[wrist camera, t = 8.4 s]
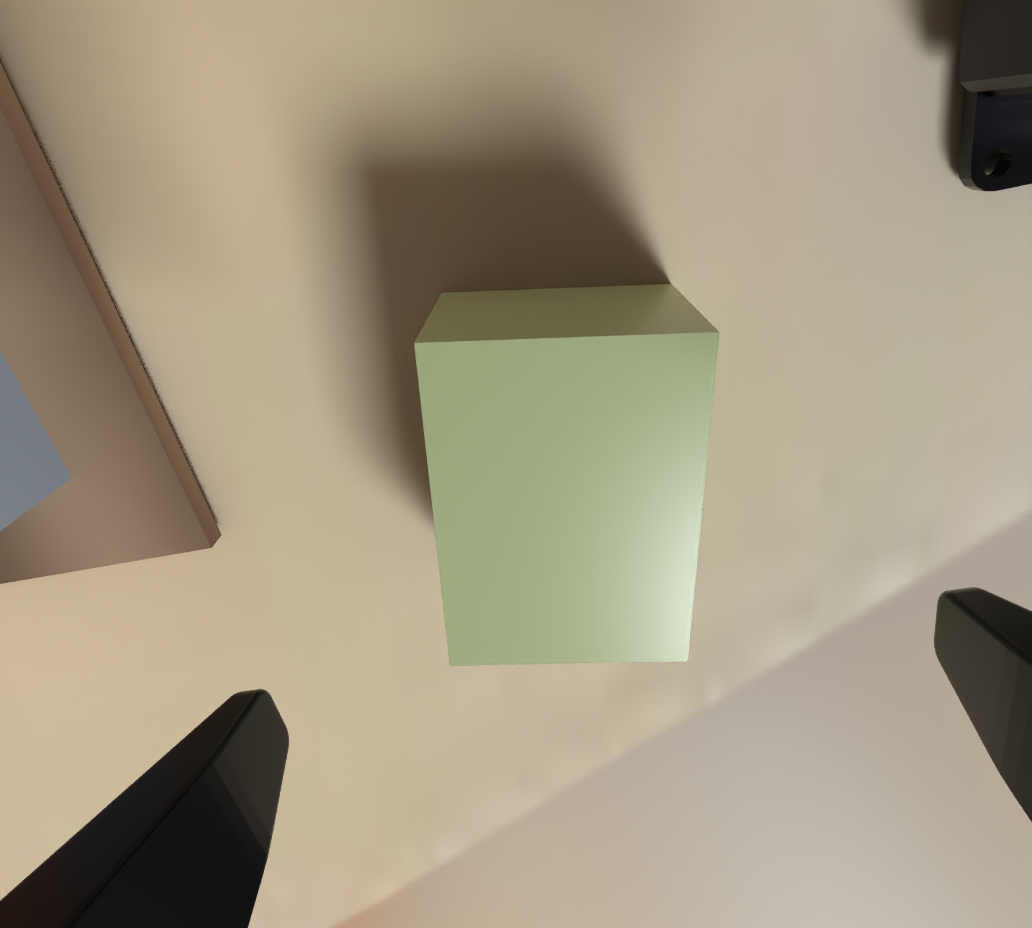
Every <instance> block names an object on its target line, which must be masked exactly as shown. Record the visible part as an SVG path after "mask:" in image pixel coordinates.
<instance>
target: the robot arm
mask: <svg viewBox="0 0 1032 928" xmlns="http://www.w3.org/2000/svg"><path fill="white" fill-rule="evenodd" d="M959 81H960V83H961V84H962V85H963V86H964V87H965V93H964V105H963V117H962V129H961V141H960V153H959V165H958V170H959V178H960V180H961V181H962V183H963V184H964V186H966V187H968V188H970V189H972V190H980V191H998V190H1003V189H1007V188H1012V187H1017V186H1022V185H1027V184H1032V0H965V2H964V14H963V27H962V39H961V52H960V65H959ZM993 151H996V152H997V153H998V158H999V161H998V163H997V166H996V168H995V169H994V170H993V171H992V172H991V174H988V175H986V174H985V172H984V164H985V161H986V158H987V157H988V156H989V155H990V154H991V153H992V152H993ZM934 647H935V652H936V655H937V658H938V660H939V662H940V664H941V666H942V668H943V669H944V671H945V673H946V675H947V677H948V679H949V681H950V683H951V685H952V686H953V688H954V690H955V692H956V694H957V696H958V697H959V699H960V701H961V703H962V705H963V707H964V709H965V710H966V712H967V714H968V716H969V718H970V720H971V722H972V724H973V726H974V728H975V729H976V731H977V733H978V735H979V737H980V739H981V741H982V743H983V744H984V746H985V748H986V750H987V752H988V754H989V756H990V757H991V759H992V761H993V762H994V764H995V766H996V768H997V770H998V771H999V773H1000V775H1001V776H1002V778H1003V779H1004V781H1005V782H1006V784H1007V786H1008V787H1009V789H1010V790H1011V792H1012V793H1013V795H1014V796H1015V798H1016V799H1017V801H1018V802H1019V804H1020V805H1021V807H1022V808H1023V810H1024V811H1025V813H1026V814H1027V815H1028V817H1029V819H1030V820H1031V821H1032V611H1030V610H1028V609H1026V608H1023V607H1021V606H1019V605H1017V604H1015V603H1012V602H1010V601H1008V600H1005V599H1003V598H1001V597H999V596H997V595H994V594H992V593H990V592H988V591H985V590H983V589H980V588H975V587H970V588H963V589H956V590H949V591H945V592H944V593H942V594H941V595H940V596H939V599H938V603H937V614H936V624H935V634H934ZM288 747H289V735H288V731H287V728H286V725H285V723H284V721H283V719H282V717H281V715H280V713H279V711H278V709H277V707H276V705H275V703H274V701H273V699H272V697H271V695H270V694H269V693H268V692H267V691H266V690H263V689H256V690H249V691H242V692H238V693H236V694H234V695H233V696H231V697H230V698H229V699H228V700H227V701H226V702H224V703H223V704H222V705H221V706H220V707H219V708H218V709H216V710H215V711H214V712H213V713H212V714H211V715H210V716H209V717H207V718H206V719H205V720H204V721H203V722H202V723H201V724H200V725H198V726H197V727H196V728H195V729H194V730H193V731H192V732H190V733H189V734H188V735H187V736H186V737H185V738H184V739H183V740H181V741H180V742H179V743H178V744H177V745H176V746H175V747H173V748H172V749H171V750H170V751H169V752H168V753H167V754H166V755H164V756H163V757H162V758H161V759H160V760H159V761H158V762H157V763H155V764H154V765H153V766H152V767H151V768H150V769H149V770H147V771H146V772H145V773H144V774H143V775H142V776H141V777H140V778H138V779H137V780H136V781H135V782H134V783H133V784H132V785H130V786H129V787H128V788H127V789H126V790H125V791H124V792H123V793H121V794H120V795H119V796H118V797H117V798H116V799H115V800H114V801H112V802H111V803H110V804H109V805H108V806H107V807H106V808H104V809H103V810H102V811H101V812H100V813H99V814H98V815H97V816H95V817H94V818H93V819H92V820H91V821H90V822H89V823H87V824H86V825H85V826H84V827H83V828H82V829H81V830H80V831H78V832H77V833H76V834H75V835H74V836H73V837H72V838H70V839H69V840H68V841H67V842H66V843H65V844H64V845H63V846H61V847H60V848H59V849H58V850H57V851H56V852H55V853H54V854H52V855H51V856H50V857H49V858H48V859H47V860H46V861H44V862H43V863H42V864H41V865H40V866H39V867H38V868H37V869H35V870H34V871H33V872H32V873H31V874H30V875H29V876H27V877H26V878H25V879H24V880H23V881H22V882H21V883H20V884H18V885H17V886H16V887H15V888H14V889H13V890H12V891H10V892H9V893H8V894H7V895H6V896H5V897H4V898H3V899H1V900H0V928H248V925H249V922H250V918H251V915H252V911H253V908H254V904H255V901H256V897H257V894H258V891H259V887H260V884H261V880H262V877H263V873H264V869H265V865H266V862H267V858H268V853H269V849H270V844H271V839H272V834H273V829H274V823H275V818H276V813H277V807H278V802H279V796H280V791H281V786H282V780H283V775H284V769H285V764H286V759H287V753H288Z"/></svg>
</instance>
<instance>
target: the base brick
mask: <svg viewBox="0 0 1032 928" xmlns="http://www.w3.org/2000/svg"><path fill="white" fill-rule="evenodd" d="M71 478H72V477H71V476H70V474H69V472H68V470H67V468H66V467H65V465H64V463H63V461H62V459H61V458H60V456H59V454H58V452H57V451H56V449H55V447H54V445H53V443H52V442H51V440H50V438H49V436H48V434H47V433H46V431H45V429H44V427H43V426H42V424H41V422H40V420H39V418H38V417H37V415H36V413H35V411H34V409H33V408H32V406H31V404H30V402H29V401H28V399H27V397H26V395H25V393H24V392H23V390H22V388H21V386H20V384H19V383H18V381H17V379H16V377H15V375H14V374H13V372H12V370H11V368H10V367H9V365H8V363H7V361H6V359H5V358H4V356H3V354H2V352H1V350H0V531H1V530H3V529H4V528H5V527H7V526H8V525H9V524H11V523H12V522H13V521H15V520H16V519H17V518H19V517H20V516H21V515H23V514H24V513H25V512H27V511H28V510H29V509H31V508H32V507H33V506H35V505H36V504H37V503H39V502H40V501H41V500H43V499H44V498H45V497H47V496H48V495H49V494H51V493H52V492H53V491H55V490H56V489H57V488H59V487H60V486H61V485H63V484H64V483H65V482H67V481H68V480H69V479H71Z"/></svg>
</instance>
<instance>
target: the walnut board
mask: <svg viewBox="0 0 1032 928" xmlns="http://www.w3.org/2000/svg"><path fill="white" fill-rule="evenodd" d="M0 350H1V352H2V354H3V356H4V358H5V359H6V361H7V363H8V365H9V367H10V368H11V370H12V372H13V374H14V375H15V377H16V379H17V381H18V383H19V384H20V386H21V388H22V390H23V392H24V393H25V395H26V397H27V399H28V401H29V402H30V404H31V406H32V408H33V409H34V411H35V413H36V415H37V417H38V418H39V420H40V422H41V424H42V426H43V427H44V429H45V431H46V433H47V434H48V436H49V438H50V440H51V442H52V443H53V445H54V447H55V449H56V451H57V452H58V454H59V456H60V458H61V459H62V461H63V463H64V465H65V467H66V468H67V470H68V472H69V474H70V476H71V477H72V478H71V479H69V480H68V481H67V482H65V483H64V484H63V485H61V486H60V487H59V488H57V489H56V490H55V491H53V492H52V493H51V494H49V495H48V496H47V497H45V498H44V499H43V500H41V501H40V502H39V503H37V504H36V505H35V506H33V507H32V508H31V509H29V510H28V511H27V512H25V513H24V514H23V515H21V516H20V517H19V518H17V519H16V520H15V521H13V522H12V523H11V524H9V525H8V526H7V527H5V528H4V529H3V530H1V531H0V584H2V583H8V582H14V581H20V580H26V579H32V578H37V577H43V576H49V575H55V574H61V573H67V572H73V571H78V570H84V569H90V568H96V567H102V566H108V565H114V564H119V563H125V562H131V561H137V560H143V559H149V558H155V557H160V556H166V555H172V554H178V553H184V552H190V551H196V550H201V549H207V548H212V547H213V545H214V544H215V543H216V541H217V540H218V539H219V537H220V536H221V533H220V531H219V529H218V526H217V524H216V522H215V520H214V518H213V516H212V514H211V511H210V509H209V507H208V505H207V503H206V501H205V499H204V496H203V494H202V492H201V490H200V488H199V486H198V484H197V481H196V479H195V477H194V475H193V473H192V471H191V469H190V467H189V464H188V462H187V460H186V458H185V456H184V454H183V452H182V449H181V447H180V445H179V443H178V441H177V439H176V437H175V434H174V432H173V430H172V428H171V426H170V424H169V422H168V419H167V417H166V415H165V413H164V411H163V409H162V407H161V405H160V402H159V400H158V398H157V396H156V394H155V392H154V390H153V387H152V385H151V383H150V381H149V379H148V377H147V375H146V372H145V370H144V368H143V366H142V364H141V362H140V360H139V358H138V355H137V353H136V351H135V349H134V347H133V345H132V343H131V340H130V338H129V336H128V334H127V332H126V330H125V328H124V325H123V323H122V321H121V319H120V317H119V315H118V313H117V310H116V308H115V306H114V304H113V302H112V300H111V298H110V296H109V293H108V291H107V289H106V287H105V285H104V283H103V281H102V278H101V276H100V274H99V272H98V270H97V268H96V266H95V263H94V261H93V259H92V257H91V255H90V253H89V251H88V249H87V246H86V244H85V242H84V240H83V238H82V236H81V234H80V231H79V229H78V227H77V225H76V223H75V221H74V219H73V216H72V214H71V212H70V210H69V208H68V206H67V204H66V201H65V199H64V197H63V195H62V193H61V191H60V189H59V187H58V184H57V182H56V180H55V178H54V176H53V174H52V172H51V169H50V167H49V165H48V163H47V161H46V159H45V157H44V154H43V152H42V150H41V148H40V146H39V144H38V142H37V140H36V137H35V135H34V133H33V131H32V129H31V127H30V125H29V122H28V120H27V118H26V116H25V114H24V112H23V110H22V107H21V105H20V103H19V101H18V99H17V97H16V95H15V92H14V90H13V88H12V86H11V84H10V82H9V80H8V78H7V75H6V73H5V71H4V69H3V67H2V65H1V63H0Z"/></svg>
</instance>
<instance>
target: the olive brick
mask: <svg viewBox="0 0 1032 928" xmlns="http://www.w3.org/2000/svg"><path fill="white" fill-rule="evenodd" d="M718 339H719V331H718V330H717V329H716V328H715V327H714V326H713V325H712V324H711V323H710V322H709V321H708V320H707V319H706V318H705V317H704V316H703V315H702V314H701V313H700V312H699V311H698V310H697V309H696V308H695V307H694V306H693V305H692V304H691V303H690V302H689V301H688V300H687V299H686V298H685V297H684V296H683V295H682V294H681V293H680V292H679V291H678V290H677V289H676V288H675V287H674V286H673V285H672V284H651V285H625V286H598V287H572V288H546V289H520V290H494V291H467V292H442V293H441V295H440V297H439V299H438V300H437V302H436V304H435V306H434V308H433V310H432V311H431V313H430V315H429V317H428V319H427V320H426V322H425V324H424V326H423V328H422V330H421V331H420V333H419V335H418V337H417V339H416V340H415V342H414V347H415V356H416V365H417V374H418V383H419V392H420V401H421V410H422V419H423V428H424V437H425V446H426V455H427V464H428V473H429V482H430V491H431V500H432V509H433V518H434V527H435V536H436V545H437V554H438V563H439V572H440V581H441V590H442V599H443V608H444V617H445V626H446V635H447V644H448V653H449V662H450V666H469V665H517V664H566V663H615V662H663V661H688V651H689V641H690V630H691V620H692V609H693V599H694V589H695V578H696V568H697V557H698V547H699V537H700V526H701V516H702V505H703V495H704V485H705V474H706V464H707V453H708V443H709V433H710V422H711V412H712V401H713V391H714V381H715V370H716V360H717V349H718Z"/></svg>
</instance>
